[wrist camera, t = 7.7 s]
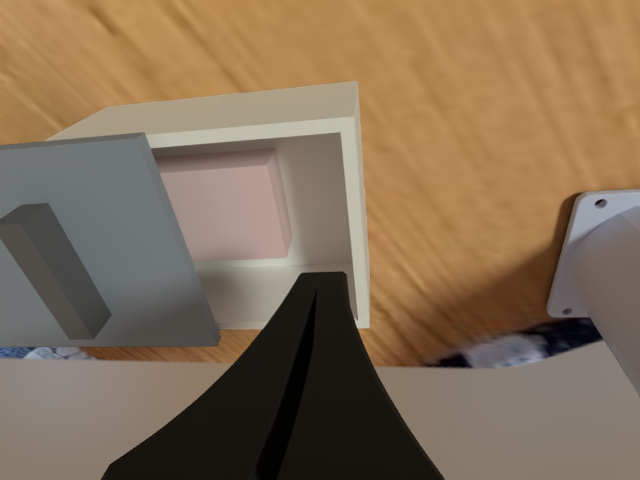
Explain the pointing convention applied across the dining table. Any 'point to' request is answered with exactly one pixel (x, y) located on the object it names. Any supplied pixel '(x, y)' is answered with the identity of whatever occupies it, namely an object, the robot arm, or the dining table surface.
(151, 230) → the lid
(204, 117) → the box
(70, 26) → the dining table surface
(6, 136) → the dining table surface
